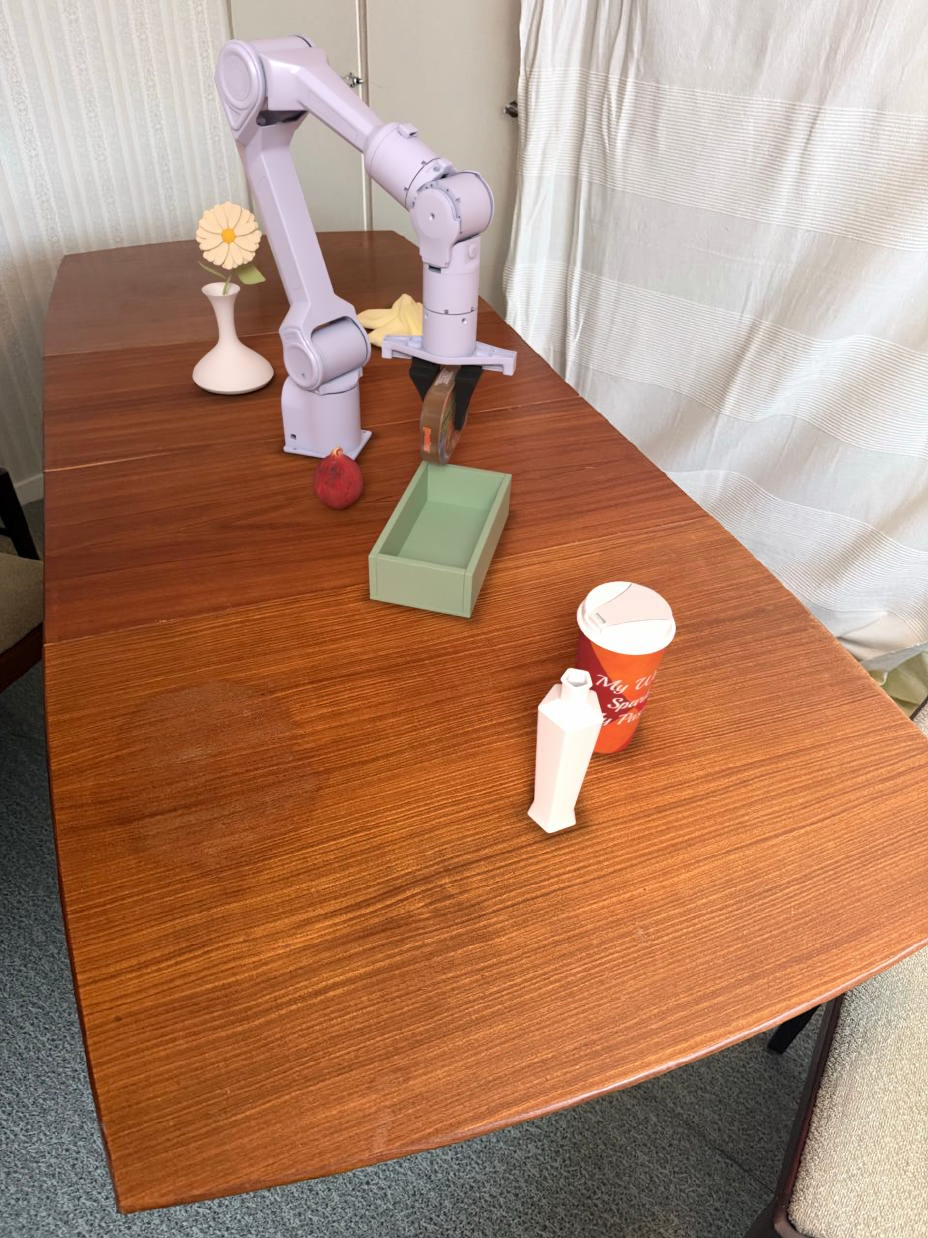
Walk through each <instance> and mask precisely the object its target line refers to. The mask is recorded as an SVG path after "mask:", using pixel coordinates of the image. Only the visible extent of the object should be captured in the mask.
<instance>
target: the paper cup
mask: <svg viewBox="0 0 928 1238" xmlns="http://www.w3.org/2000/svg"><path fill="white" fill-rule="evenodd" d="M576 621H577V625H578V627H579V629H578V636H577V647H576V657H575V666H574V669H578V670H584V671H587V672H589V674H590V677H591V681H592V686H591V687H590V688H589V690H593V691H595V692H596V694H597V698H598V701H599V705H600V708H601V712H602V715H603V723H602V726H601V729H600V732H599V735H598V738H597V741H596V744H595V747H594V750H593V752H595V753H597V754H598V753H599V754H614V753H615V754H616V753H618V752H620V751H623V750H624V749H626V748H627V747H628V746H629V745H630V743H631V742H632V741H633V738H634V736H635V733H636V731H637V728H638V726H639V723H640V720H641V717H642V714H643V712H644V710H645V707H646V703H647V701H648V698H649V695H650V693H651V690H652V687H653V684H654V681H655V679H656V676H657V673H658V670H659V667H660V665H661V662H662V659H663V656H664V653H665V652H666V649H667V646H668V645H669V644H670V643H672V641H673V639H674V637H675V634H676V628H677V627H676V621H675V619H674V616H673V611H672V607H671V606H670V605H669V603H668V601H667V600H666V599H665V598H664V597H663V596H662V595H660V594H659V593H658V592H656V591H655V590H654V589H652V588H649V587H648V586H645V585H641V584H638V583H635V582H630V581H611V582H606V583H602V584H600V585H598V586H596V587H594V588H593V589H592V590H591V591H589V593H588V594H587V595H586V597H585V598H584V600H582V602H581V603H580V604H579V606H578V608H577V611H576Z"/></svg>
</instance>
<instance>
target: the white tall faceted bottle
mask: <svg viewBox="0 0 928 1238" xmlns="http://www.w3.org/2000/svg"><path fill="white" fill-rule="evenodd" d="M560 682H561V683H555V684H554V685H553V686H552V688H550V690H549V691H548V692H547V694H546V695H545V696H544V697H543V699H542V701H541V702H540V703H539V704H538V706H537V721H536V723H537V724H536V748H535V772H534V773H535V774H534V798H533V799H534V800H533V801H532V803H531V804H530V807H529V808H528V810H527V813H526V814H527V815H528V816H529V818H530V819H532V820H533V821H534V822H535V823H536V824H537V825H538V826H540V827H541V828H542V829H543V830H544V831H545V832H546V833H548V834H551V833H555V832H557V831H560V830H563V829H566V828H569V827H572V826H575V825H576V823H577V821H576V813H575V806H576V803H577V801H578V797H579V794H580V791H581V789H582V786H583V782H584V780H585V777H586V774H587V771H588V767H589V766H590V762H591V758H592V755H593V752H594V751H593V750H594V747H595V744H596V741H597V738H598V735H599V732H600V729H601V726H602V723H603V715H602V712H601V708H600V705H599V701H598V698H597V694H596V692H595V691H593V690H589V688H590V687H591V686H592V681H591V677H590V674H589V672H587V671H584V670H578V669H575V668H572V667H569V668H567V669H566V671H565V672H564V673H563V675H562V676H561V677H560Z"/></svg>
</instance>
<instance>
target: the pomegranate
mask: <svg viewBox="0 0 928 1238" xmlns="http://www.w3.org/2000/svg"><path fill="white" fill-rule="evenodd" d="M364 485H365V482H364V476H363V470H362V468H361V466H360V465H359V464H358V463H357V462H356V460H353V459H352V458H350V457H349V456H347V455H344V454H343V449H342V448H341V447H339V446H337V447H335V448H333V450H332V452H331V454H330V455H328V456H326V457H325V458H322V459H321V460H320V461H319V462H318V463H317V465H316V466H315V467H314V470H313V474H312V489H313V492H314V494H315V495H316V496H317V498H318V499H319V501H320V502H321V503H323V504H324V505H325V506H327V507H329V508H332V509H334V510H340V511H341V510H345V508H347V507H350V506H351V505H352V504H354V503H355V502H356V501H357V500H358V499H359V497H360V496H361V495H362V493H363V490H364Z"/></svg>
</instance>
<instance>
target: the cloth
mask: <svg viewBox="0 0 928 1238" xmlns="http://www.w3.org/2000/svg"><path fill="white" fill-rule="evenodd" d="M356 315H357V318H358V320H359V322H360V323H361V325H362V326H363V328H364V329H369V330H372V331H370V332H369V333H367V334H368V337H369V340H370V344H371V346H375V347H377V348H380V349H382V340H383V339H384V337H385V336H386V335H387V334H390V335H422V322H423V303H421V302H418V301H417V302H416V301H415V300H414V299H413V296H411V295H409V294H407V293H402V294H401V296H400V297H399V298H397V300H395V301H394V303H393V304H392V306H391V308H371V309H366V310H363V311H361V312H360V313H358V314H356Z"/></svg>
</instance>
